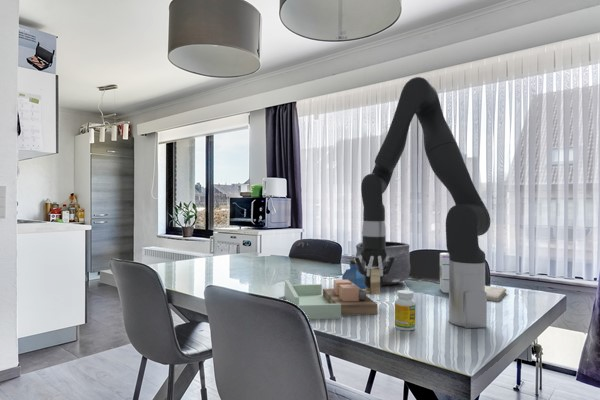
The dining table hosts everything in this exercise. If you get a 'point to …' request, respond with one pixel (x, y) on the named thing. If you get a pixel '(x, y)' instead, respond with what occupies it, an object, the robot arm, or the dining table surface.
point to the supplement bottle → (405, 311)
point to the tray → (311, 301)
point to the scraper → (371, 284)
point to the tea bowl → (400, 263)
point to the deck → (351, 304)
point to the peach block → (349, 292)
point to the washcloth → (494, 293)
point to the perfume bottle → (354, 275)
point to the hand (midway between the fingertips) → (373, 287)
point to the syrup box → (444, 272)
